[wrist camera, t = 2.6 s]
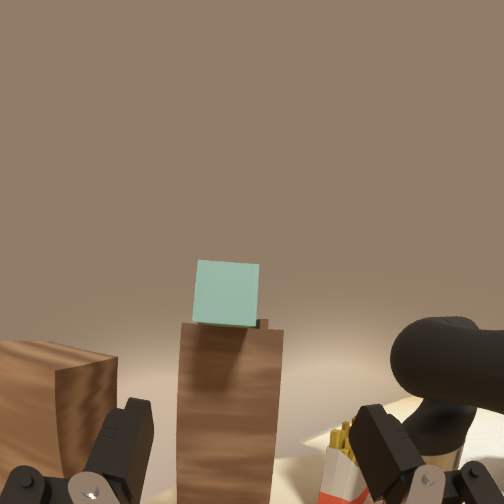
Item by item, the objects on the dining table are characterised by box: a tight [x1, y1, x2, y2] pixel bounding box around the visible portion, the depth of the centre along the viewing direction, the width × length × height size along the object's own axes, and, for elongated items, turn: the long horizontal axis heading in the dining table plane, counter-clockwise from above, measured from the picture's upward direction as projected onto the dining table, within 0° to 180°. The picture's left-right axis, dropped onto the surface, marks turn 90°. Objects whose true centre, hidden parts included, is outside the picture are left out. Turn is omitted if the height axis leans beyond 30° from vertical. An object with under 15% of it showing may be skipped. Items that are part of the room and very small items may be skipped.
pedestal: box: [0, 341, 118, 496], centre depth 18 cm, size 15×10×27 cm, turn 7°
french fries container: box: [318, 416, 369, 504], centre depth 34 cm, size 5×11×18 cm, turn 133°
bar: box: [193, 260, 259, 328], centre depth 31 cm, size 26×4×4 cm, turn 3°
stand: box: [176, 319, 284, 504], centre depth 31 cm, size 16×10×33 cm, turn 7°
